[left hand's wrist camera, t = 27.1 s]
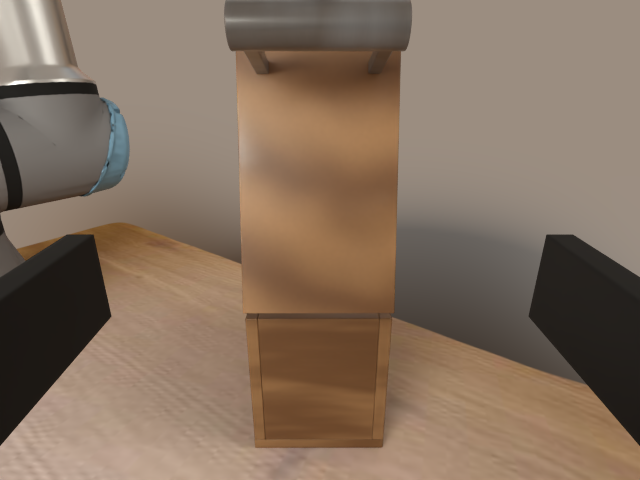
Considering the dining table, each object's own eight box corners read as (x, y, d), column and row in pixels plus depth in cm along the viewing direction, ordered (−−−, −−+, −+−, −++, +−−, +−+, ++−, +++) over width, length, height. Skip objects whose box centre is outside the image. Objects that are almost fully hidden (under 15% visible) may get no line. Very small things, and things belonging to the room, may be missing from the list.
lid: (238, 14, 24) (195, -74, 16) (398, 14, 24) (440, -74, 16) (245, 308, 26) (212, 366, 18) (391, 308, 26) (424, 366, 18)
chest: (276, 320, 46) (272, 227, 41) (360, 320, 46) (364, 227, 42) (255, 447, 30) (245, 318, 26) (382, 447, 30) (392, 318, 26)
